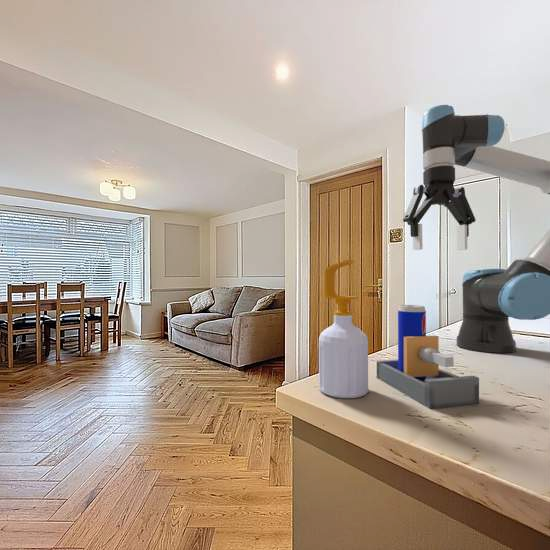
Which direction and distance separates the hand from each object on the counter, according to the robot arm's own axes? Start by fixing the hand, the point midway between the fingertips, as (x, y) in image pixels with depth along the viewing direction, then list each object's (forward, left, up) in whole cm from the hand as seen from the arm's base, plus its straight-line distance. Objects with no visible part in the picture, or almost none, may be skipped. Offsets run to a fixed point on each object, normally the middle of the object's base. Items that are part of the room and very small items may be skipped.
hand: (440, 249), depth 87 cm
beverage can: (+20, +17, -28) cm, 38 cm away
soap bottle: (+35, +17, -29) cm, 48 cm away
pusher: (+20, +23, -26) cm, 40 cm away
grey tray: (+20, +20, -28) cm, 40 cm away
